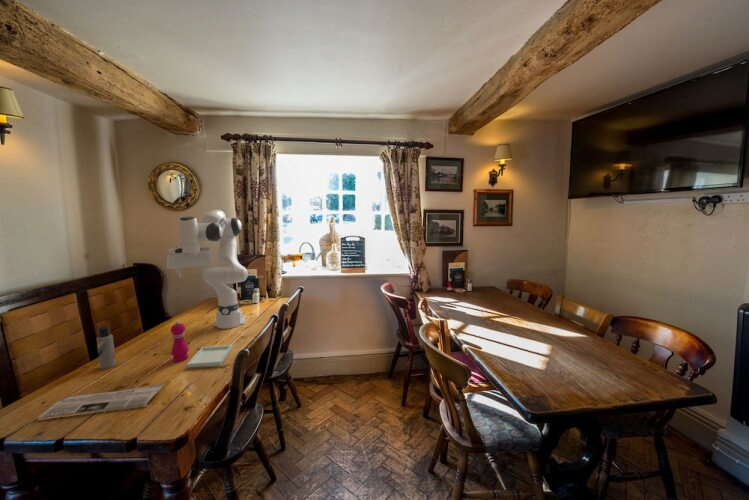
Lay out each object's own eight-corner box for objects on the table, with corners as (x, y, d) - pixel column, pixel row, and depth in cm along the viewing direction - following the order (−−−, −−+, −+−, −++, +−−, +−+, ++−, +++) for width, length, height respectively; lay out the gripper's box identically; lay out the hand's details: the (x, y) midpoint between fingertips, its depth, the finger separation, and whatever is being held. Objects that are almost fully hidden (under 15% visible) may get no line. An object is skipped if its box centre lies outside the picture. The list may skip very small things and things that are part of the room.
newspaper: (37, 422, 104) (36, 413, 103) (65, 400, 116) (64, 392, 116) (151, 407, 112) (150, 399, 112) (166, 388, 124) (165, 380, 124)
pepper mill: (180, 363, 144) (177, 324, 141) (168, 361, 145) (164, 323, 142) (192, 356, 151) (189, 319, 148) (180, 354, 152) (177, 318, 150)
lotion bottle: (115, 362, 145) (111, 323, 142) (116, 366, 141) (111, 326, 138) (100, 366, 141) (94, 326, 138) (100, 370, 137) (95, 330, 134)
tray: (202, 351, 156) (202, 346, 156) (232, 349, 158) (232, 344, 158) (187, 369, 138) (186, 364, 138) (220, 366, 141) (220, 361, 141)
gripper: (209, 246, 159) (210, 271, 161) (164, 249, 144) (166, 277, 145) (213, 247, 155) (215, 273, 157) (168, 250, 140) (170, 279, 141)
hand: (191, 275), depth 151 cm, fingers open, 8 cm apart
